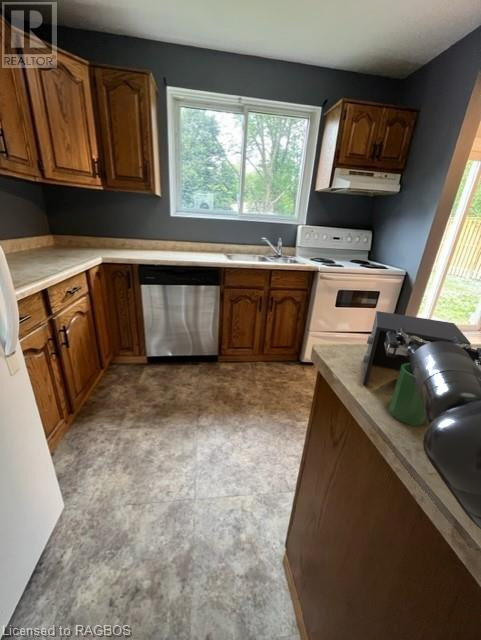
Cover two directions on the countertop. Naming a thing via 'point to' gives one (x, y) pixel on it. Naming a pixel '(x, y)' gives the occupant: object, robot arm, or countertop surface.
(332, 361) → the countertop surface
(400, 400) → the green cylinder
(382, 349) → the dark grey open box
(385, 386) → the countertop surface
